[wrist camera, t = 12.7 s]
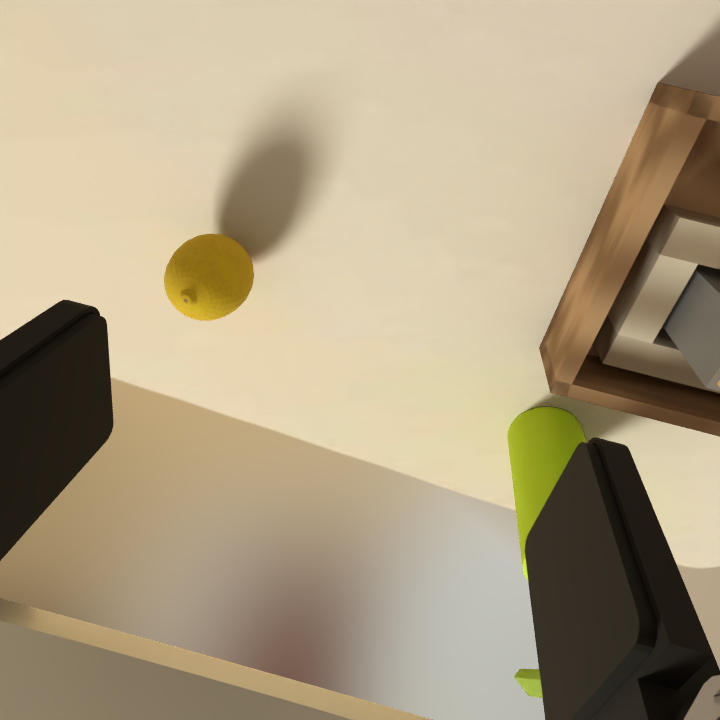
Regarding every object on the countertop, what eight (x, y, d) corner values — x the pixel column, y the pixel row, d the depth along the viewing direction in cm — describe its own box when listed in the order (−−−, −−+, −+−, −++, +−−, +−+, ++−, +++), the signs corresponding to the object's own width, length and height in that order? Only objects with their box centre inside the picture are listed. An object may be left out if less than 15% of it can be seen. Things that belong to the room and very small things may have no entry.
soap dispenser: (483, 426, 44) (497, 664, 27) (565, 396, 42) (637, 640, 25) (514, 475, 46) (544, 724, 30) (593, 449, 44) (677, 707, 27)
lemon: (183, 237, 40) (126, 276, 33) (244, 208, 38) (196, 244, 31) (221, 300, 42) (175, 349, 35) (280, 276, 40) (244, 324, 34)
